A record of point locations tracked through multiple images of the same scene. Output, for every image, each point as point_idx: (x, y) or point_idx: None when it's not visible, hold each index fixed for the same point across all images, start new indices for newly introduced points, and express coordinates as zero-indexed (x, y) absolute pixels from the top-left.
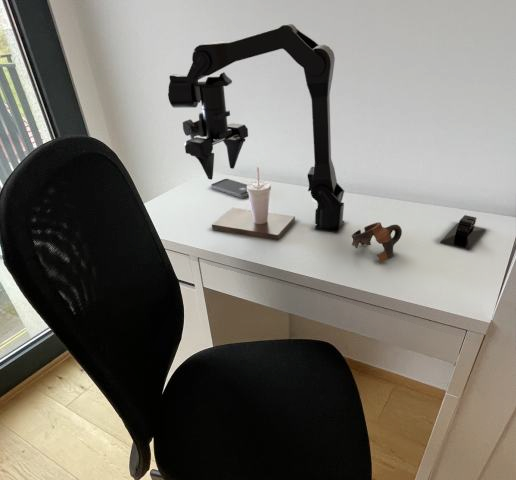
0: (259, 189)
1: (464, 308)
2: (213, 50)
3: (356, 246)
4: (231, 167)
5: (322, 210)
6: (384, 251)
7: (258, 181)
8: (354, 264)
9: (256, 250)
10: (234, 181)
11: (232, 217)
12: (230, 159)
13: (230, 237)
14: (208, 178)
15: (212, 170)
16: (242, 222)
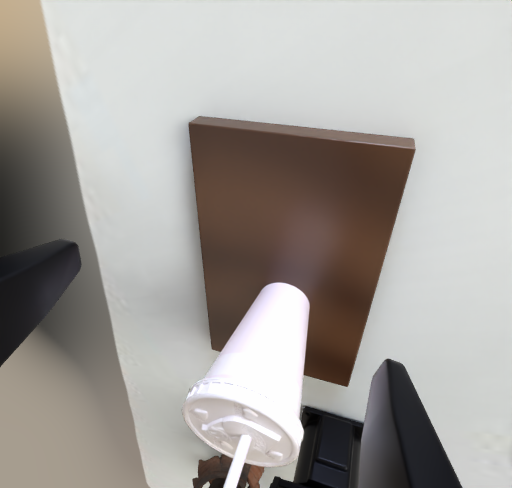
0: (202, 431)
1: (158, 484)
2: None
3: (199, 463)
4: (378, 375)
5: (299, 472)
6: (209, 482)
7: (235, 454)
8: (191, 433)
9: (149, 296)
10: None
11: (285, 193)
12: (383, 458)
13: (176, 212)
14: (59, 243)
15: (5, 344)
16: (252, 246)
